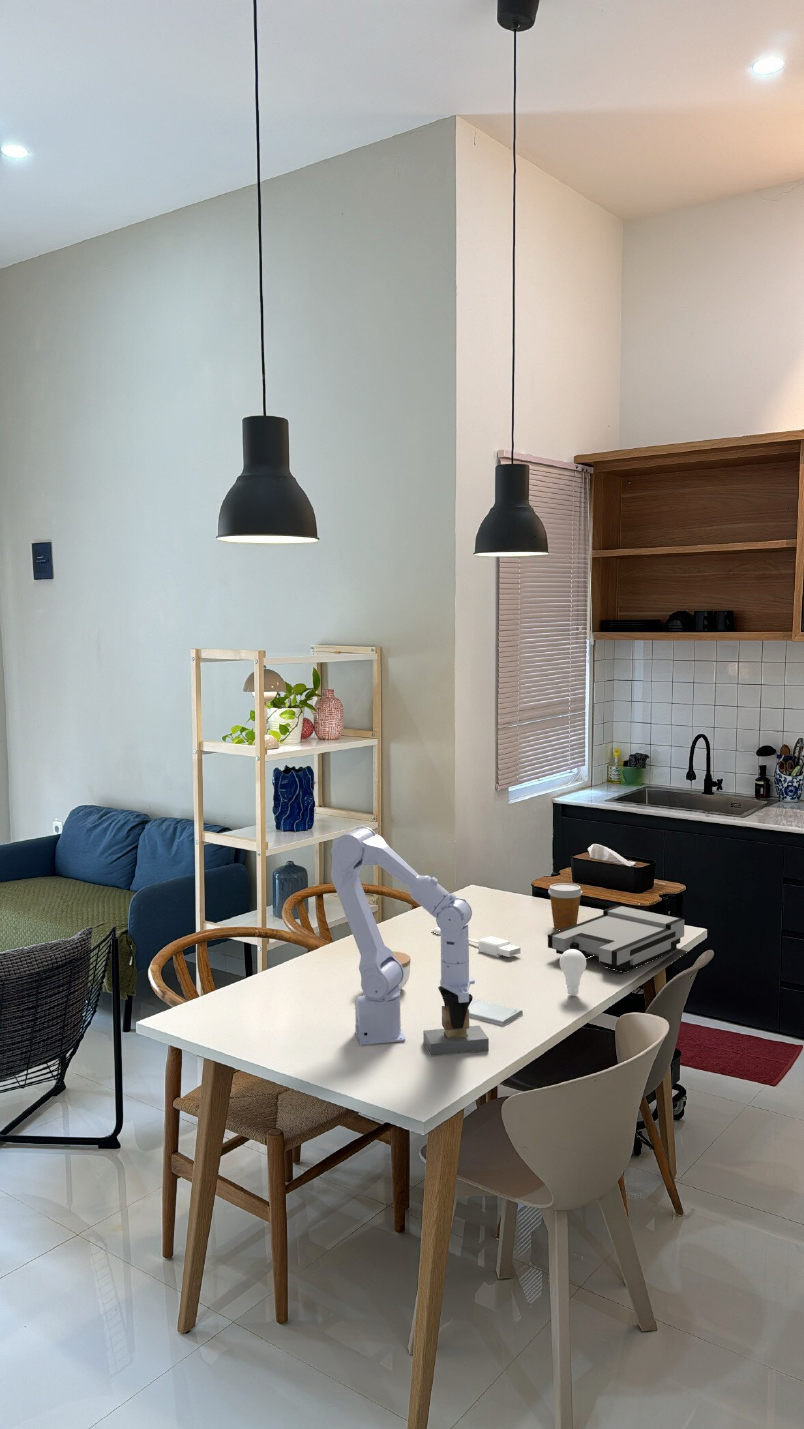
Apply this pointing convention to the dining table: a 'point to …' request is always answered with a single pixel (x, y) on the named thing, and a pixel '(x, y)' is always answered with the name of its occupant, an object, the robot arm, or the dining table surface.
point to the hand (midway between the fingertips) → (455, 1024)
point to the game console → (621, 937)
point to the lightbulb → (572, 969)
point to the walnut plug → (448, 1026)
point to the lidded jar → (405, 963)
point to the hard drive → (493, 1012)
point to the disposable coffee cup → (564, 904)
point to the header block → (455, 1042)
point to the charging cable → (493, 945)
